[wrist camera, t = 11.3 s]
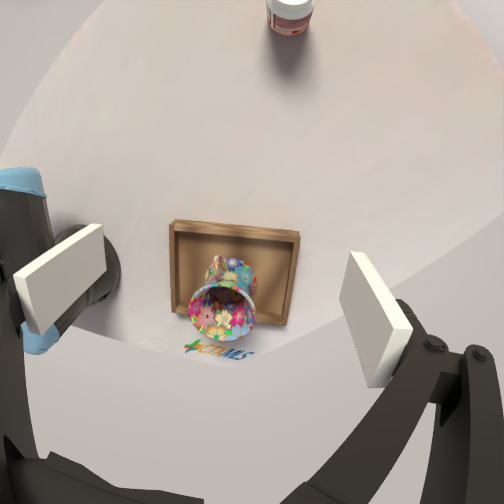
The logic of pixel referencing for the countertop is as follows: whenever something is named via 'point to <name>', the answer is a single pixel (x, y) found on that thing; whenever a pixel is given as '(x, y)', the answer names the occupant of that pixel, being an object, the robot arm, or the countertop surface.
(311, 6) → the pill bottle
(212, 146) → the countertop surface
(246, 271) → the mug
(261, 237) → the tray
